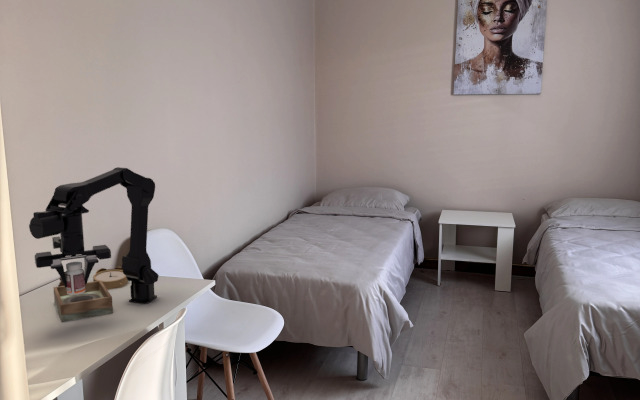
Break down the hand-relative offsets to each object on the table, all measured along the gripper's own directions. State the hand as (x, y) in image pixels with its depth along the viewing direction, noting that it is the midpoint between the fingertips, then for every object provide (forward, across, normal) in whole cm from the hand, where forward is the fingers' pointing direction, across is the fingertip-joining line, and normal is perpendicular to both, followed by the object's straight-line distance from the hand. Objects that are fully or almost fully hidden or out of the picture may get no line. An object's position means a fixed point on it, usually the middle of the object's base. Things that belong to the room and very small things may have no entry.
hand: (75, 285), depth 149 cm
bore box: (+12, -3, -14) cm, 19 cm away
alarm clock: (+12, -16, -35) cm, 40 cm away
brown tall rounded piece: (+12, -2, -38) cm, 40 cm away
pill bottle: (+2, 0, 0) cm, 2 cm away
